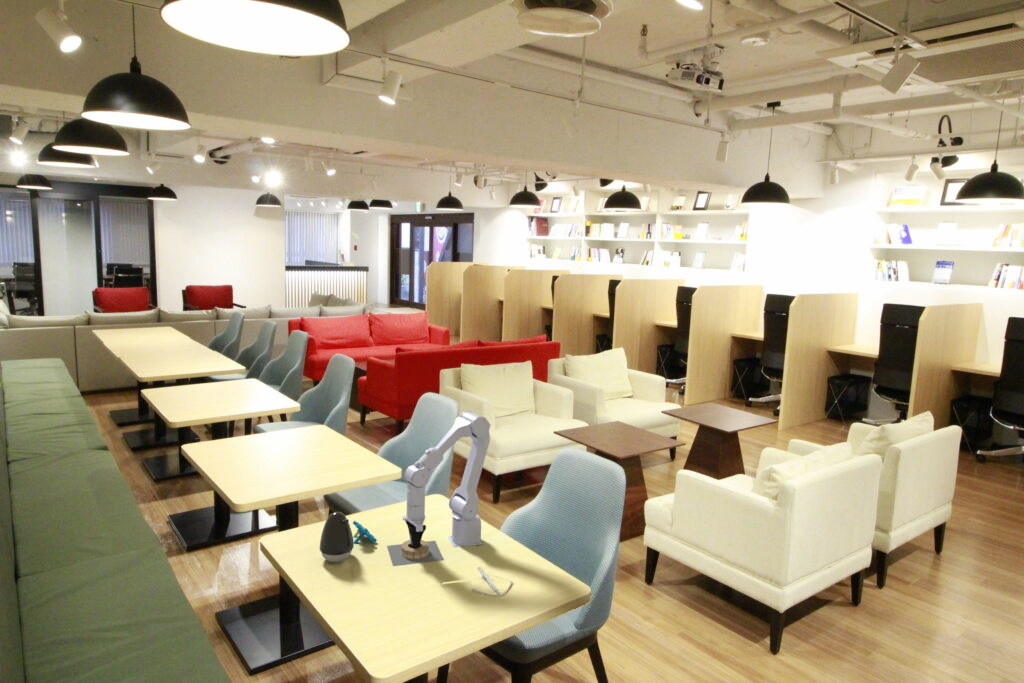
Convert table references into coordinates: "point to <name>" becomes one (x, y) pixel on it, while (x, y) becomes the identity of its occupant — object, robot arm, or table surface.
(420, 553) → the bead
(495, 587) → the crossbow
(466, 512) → the robot arm
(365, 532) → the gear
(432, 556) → the mat
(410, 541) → the peg
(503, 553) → the table surface
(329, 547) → the pump dispenser
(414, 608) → the table surface
